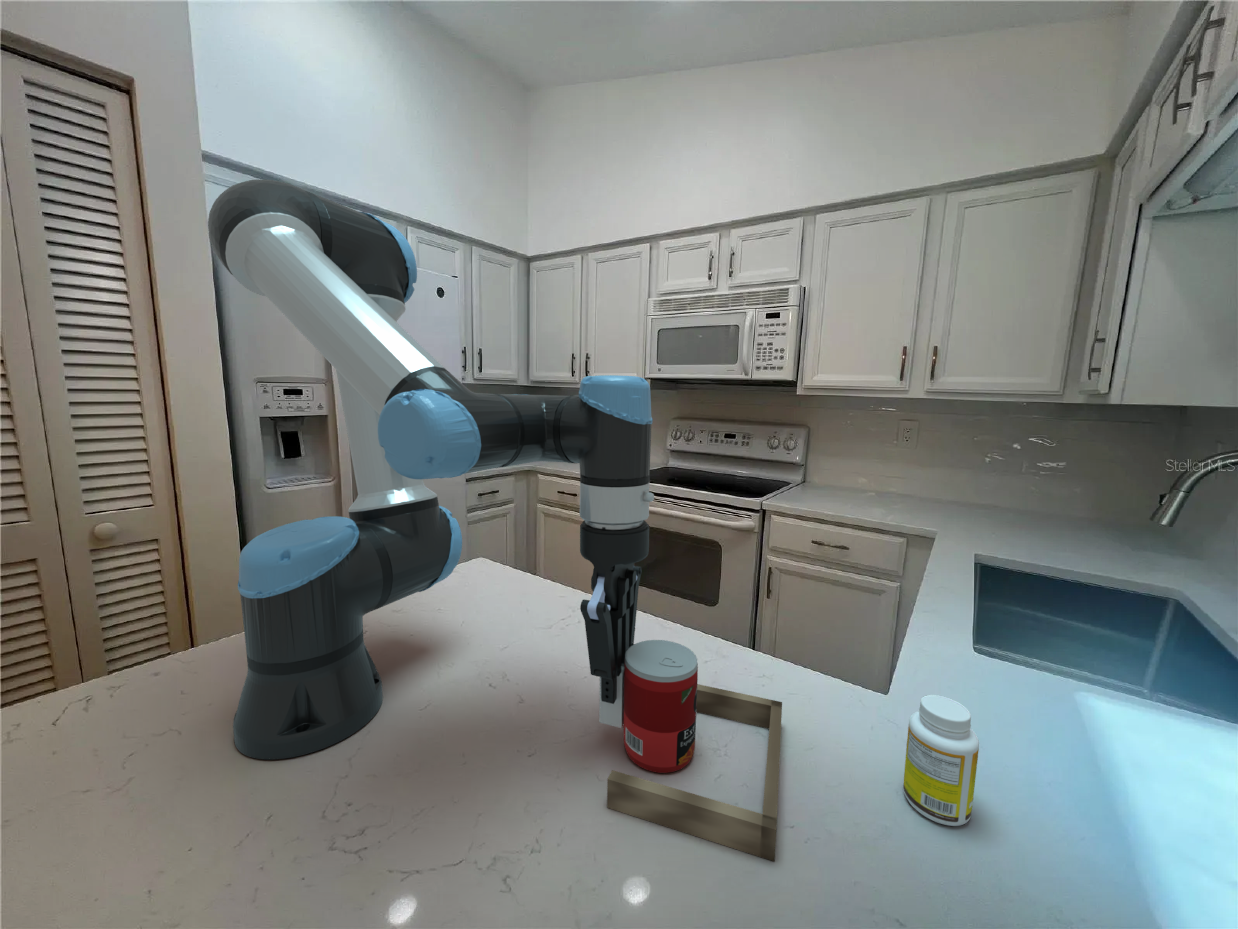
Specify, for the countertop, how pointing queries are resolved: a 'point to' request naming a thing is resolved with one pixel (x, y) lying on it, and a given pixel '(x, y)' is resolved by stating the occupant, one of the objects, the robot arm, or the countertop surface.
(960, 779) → the supplement bottle
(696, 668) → the canned food
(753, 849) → the bay
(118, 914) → the countertop surface
